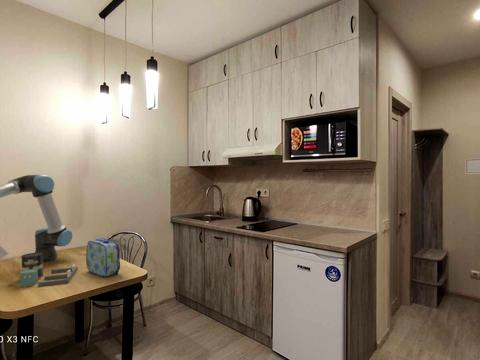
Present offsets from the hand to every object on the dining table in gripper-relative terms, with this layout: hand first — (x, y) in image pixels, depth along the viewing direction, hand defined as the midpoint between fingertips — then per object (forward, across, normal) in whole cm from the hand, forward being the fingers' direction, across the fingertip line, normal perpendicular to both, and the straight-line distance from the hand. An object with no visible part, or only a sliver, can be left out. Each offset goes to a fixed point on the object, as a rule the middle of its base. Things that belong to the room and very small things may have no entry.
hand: (4, 256), depth 156 cm
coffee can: (+20, -10, -1) cm, 22 cm away
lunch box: (+44, +3, +27) cm, 52 cm away
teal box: (+20, +2, -2) cm, 20 cm away
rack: (+29, -2, +9) cm, 30 cm away
